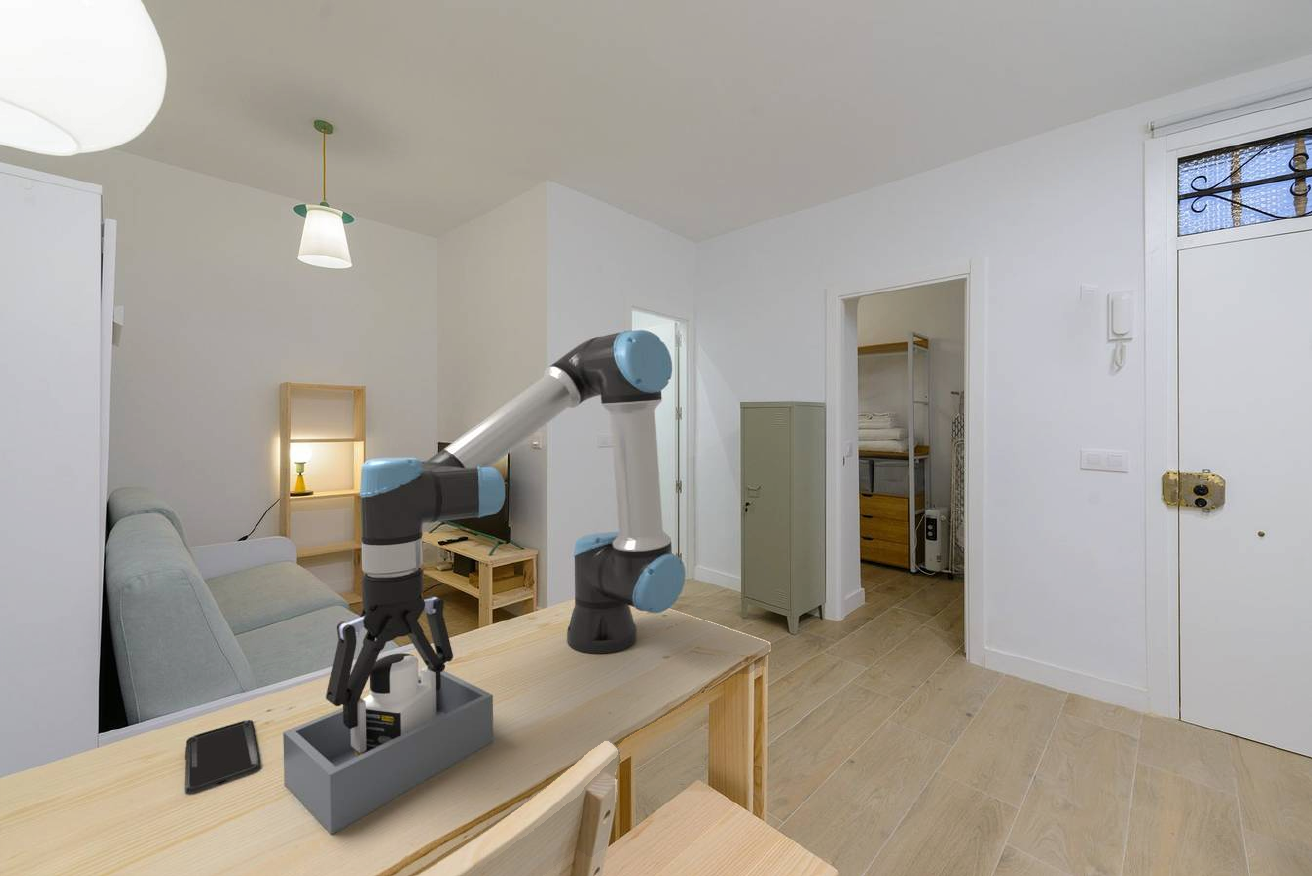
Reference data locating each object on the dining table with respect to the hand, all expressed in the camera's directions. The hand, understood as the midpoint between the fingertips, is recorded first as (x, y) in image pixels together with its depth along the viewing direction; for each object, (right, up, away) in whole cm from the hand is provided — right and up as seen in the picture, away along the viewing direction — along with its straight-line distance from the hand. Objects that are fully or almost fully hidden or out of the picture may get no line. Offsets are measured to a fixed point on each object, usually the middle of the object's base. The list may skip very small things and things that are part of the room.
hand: (395, 730), depth 73 cm
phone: (-25, -5, +1) cm, 26 cm away
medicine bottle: (0, -2, 0) cm, 2 cm away
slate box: (0, -4, 0) cm, 4 cm away
